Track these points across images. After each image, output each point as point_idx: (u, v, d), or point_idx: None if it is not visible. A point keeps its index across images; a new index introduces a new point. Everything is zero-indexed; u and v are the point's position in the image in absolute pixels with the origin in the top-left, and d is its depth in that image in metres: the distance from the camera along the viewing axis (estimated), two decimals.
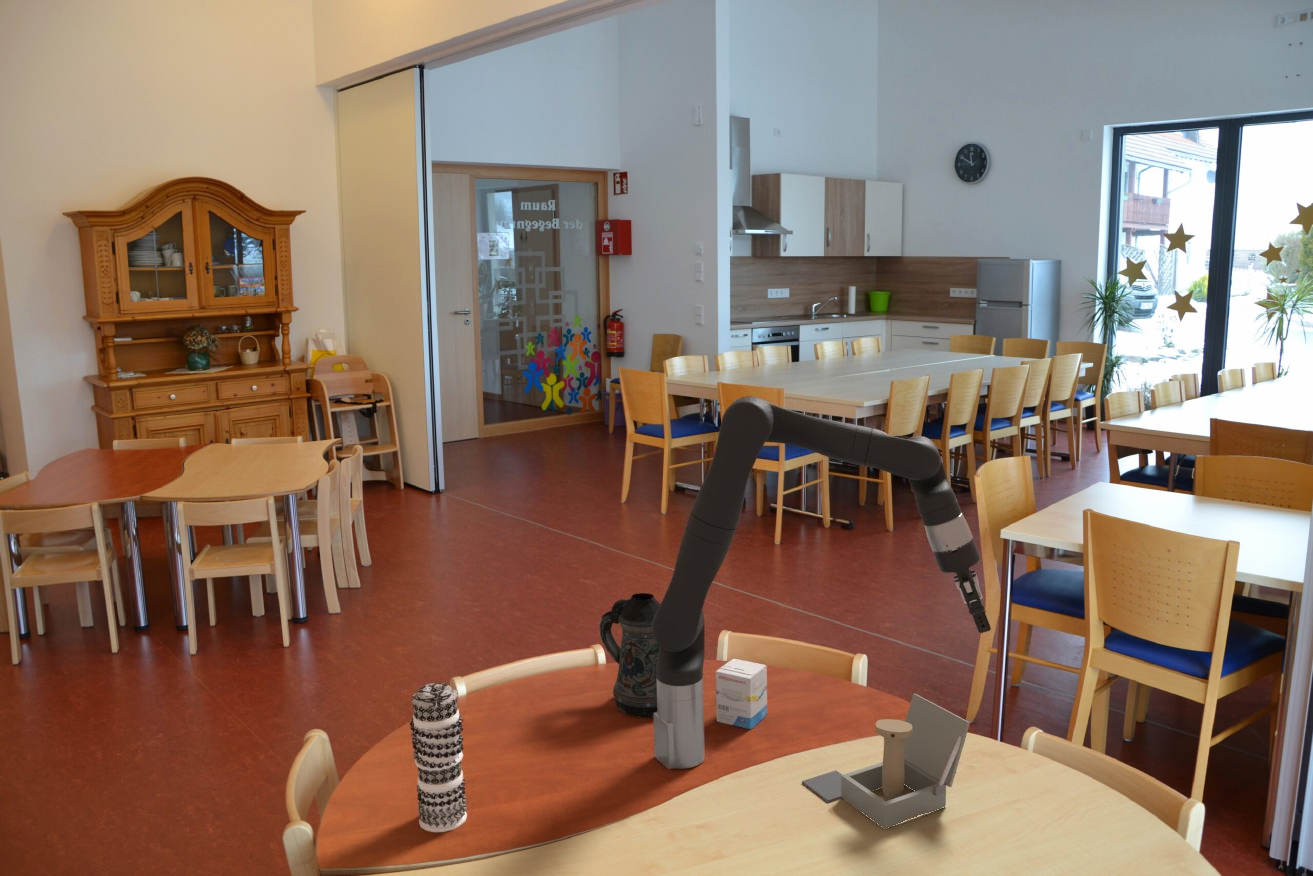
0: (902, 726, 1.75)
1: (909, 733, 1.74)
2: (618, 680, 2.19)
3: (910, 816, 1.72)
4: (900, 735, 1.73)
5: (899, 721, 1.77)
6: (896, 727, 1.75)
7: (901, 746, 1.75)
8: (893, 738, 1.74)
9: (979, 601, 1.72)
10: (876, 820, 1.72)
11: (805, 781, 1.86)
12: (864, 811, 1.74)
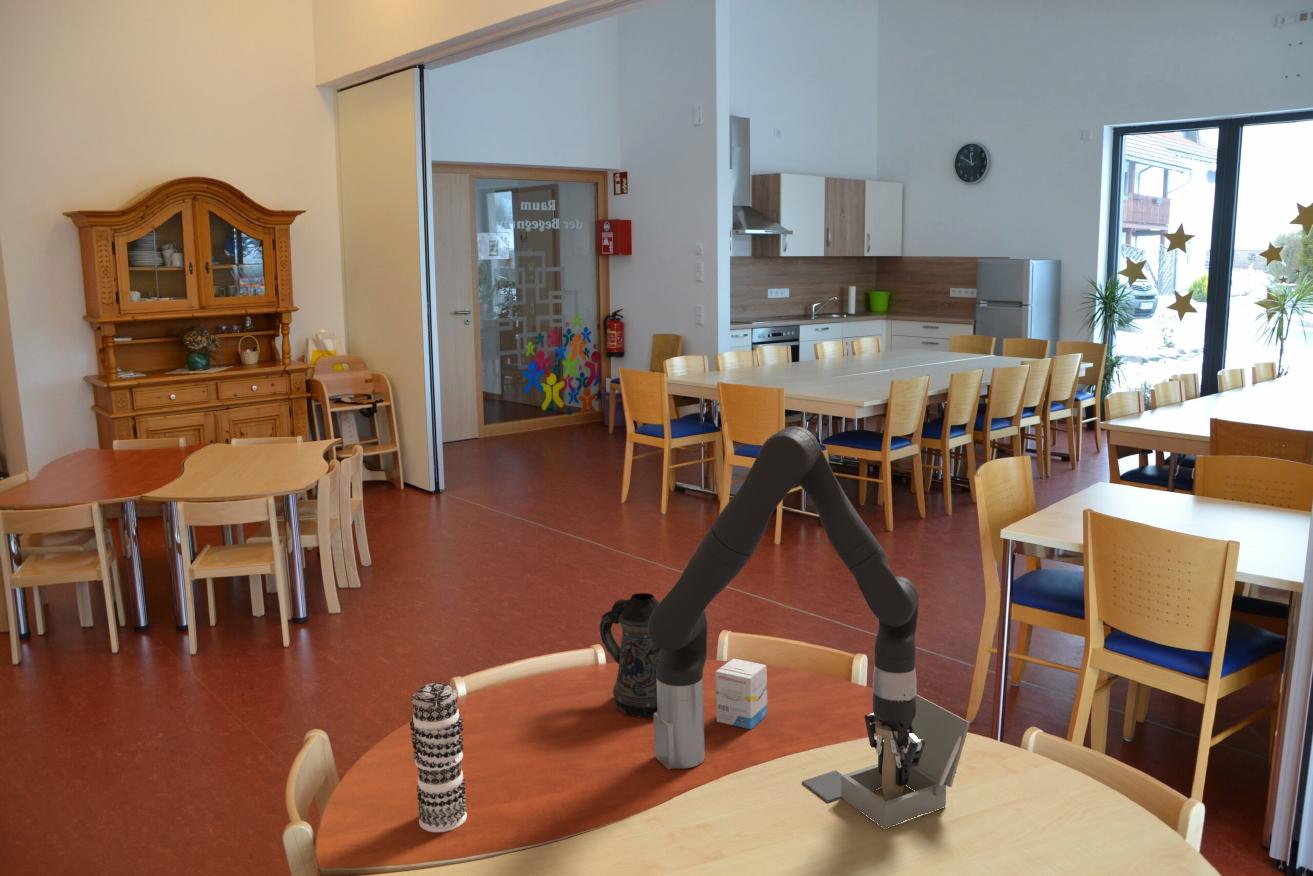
0: None
1: None
2: (618, 680, 2.19)
3: (910, 816, 1.72)
4: None
5: None
6: None
7: (901, 746, 1.75)
8: None
9: (919, 759, 1.72)
10: (876, 820, 1.72)
11: (805, 781, 1.86)
12: (864, 811, 1.74)
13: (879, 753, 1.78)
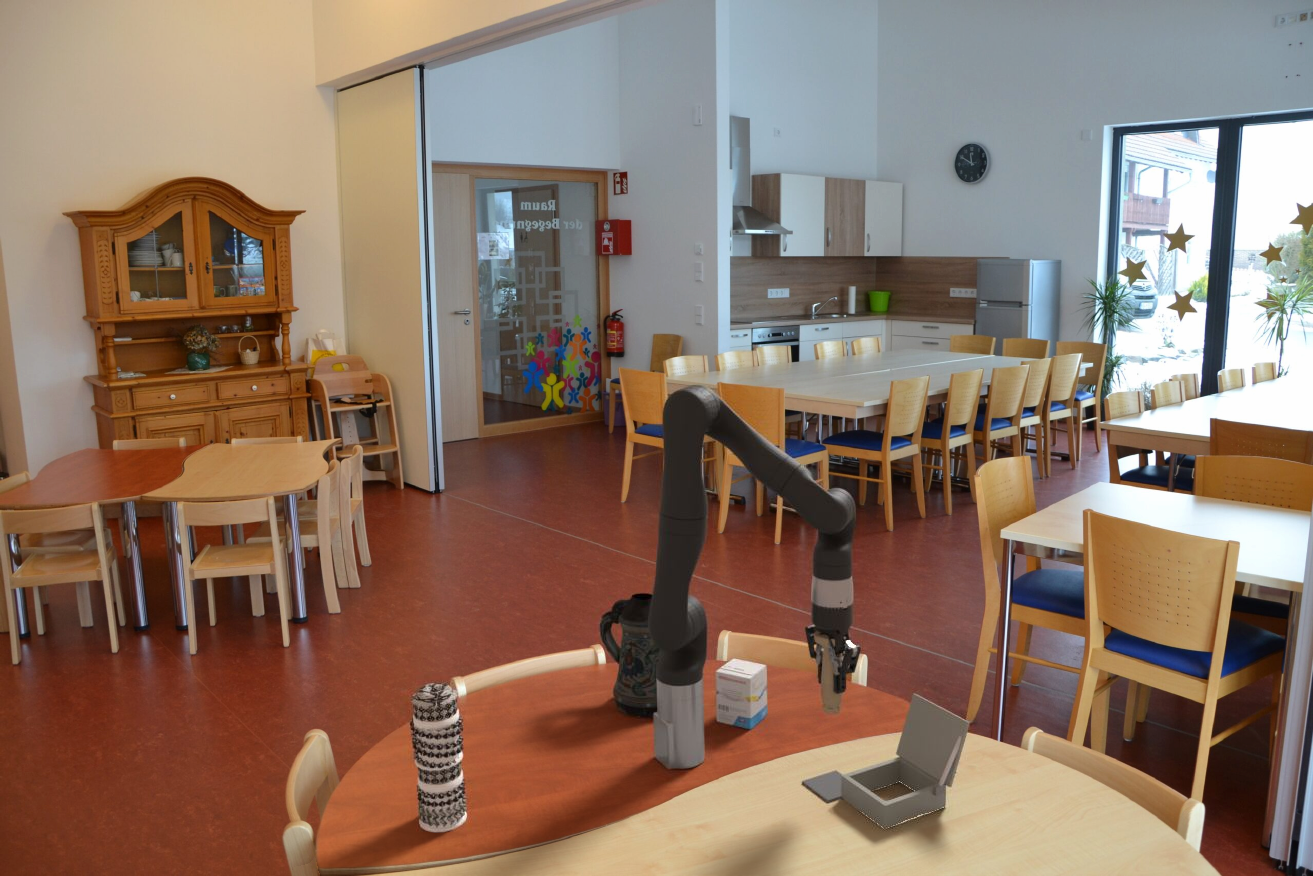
0: None
1: None
2: (618, 680, 2.19)
3: (910, 816, 1.72)
4: None
5: None
6: None
7: (839, 654, 1.79)
8: None
9: (855, 665, 1.76)
10: (876, 820, 1.72)
11: (805, 781, 1.86)
12: (864, 811, 1.74)
13: (818, 663, 1.82)
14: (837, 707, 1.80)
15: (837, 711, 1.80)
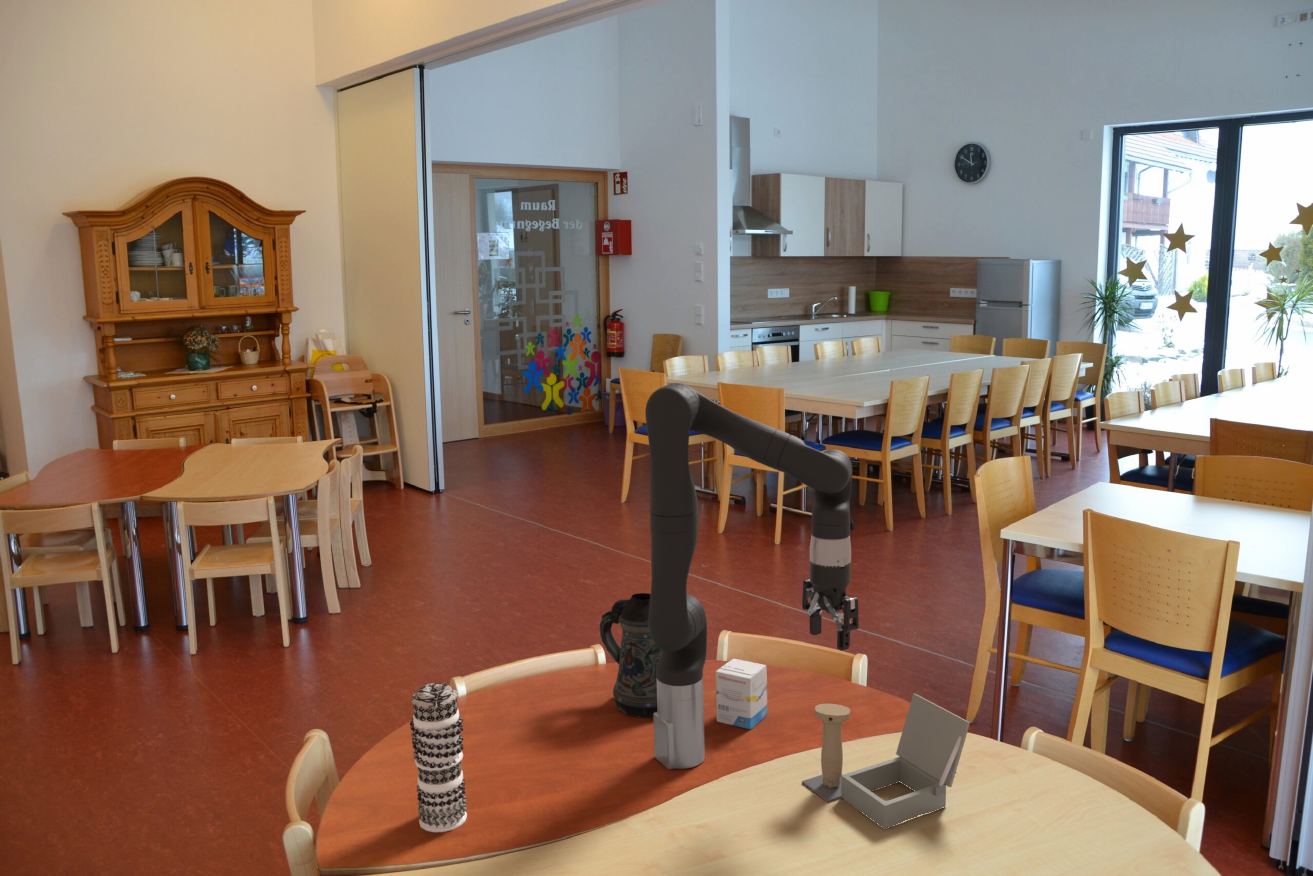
0: (841, 710, 1.81)
1: (846, 717, 1.80)
2: (618, 680, 2.19)
3: (910, 816, 1.72)
4: (837, 718, 1.79)
5: (838, 705, 1.83)
6: (834, 711, 1.81)
7: (839, 729, 1.81)
8: (831, 721, 1.80)
9: (857, 619, 1.77)
10: (876, 820, 1.72)
11: (805, 781, 1.86)
12: (864, 811, 1.74)
13: (810, 614, 1.87)
14: (837, 781, 1.83)
15: (837, 785, 1.83)
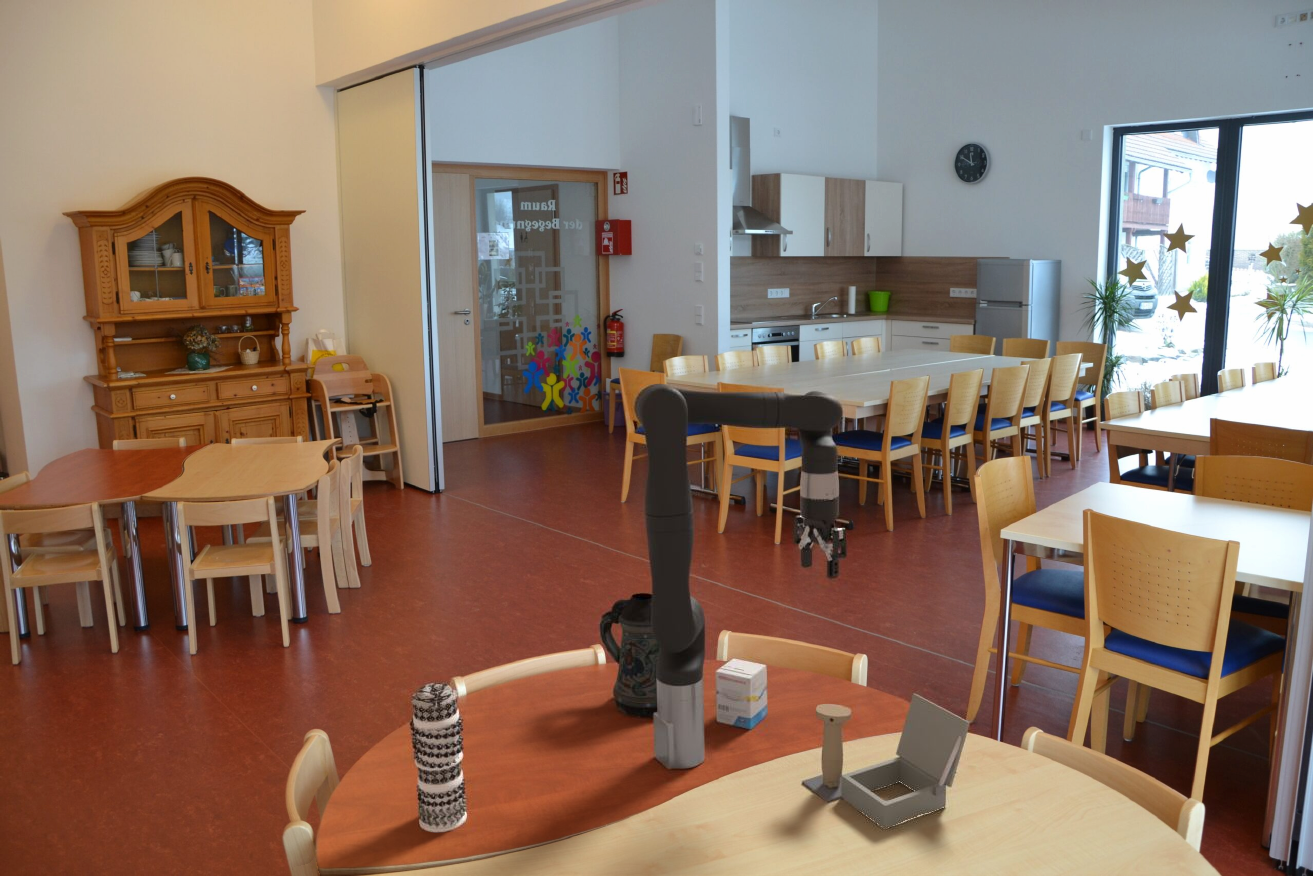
0: (842, 711, 1.81)
1: (847, 718, 1.79)
2: (618, 680, 2.19)
3: (910, 816, 1.72)
4: (838, 719, 1.79)
5: (839, 706, 1.83)
6: (835, 712, 1.81)
7: (840, 730, 1.81)
8: (832, 722, 1.79)
9: (845, 548, 1.90)
10: (876, 820, 1.72)
11: (805, 781, 1.86)
12: (864, 811, 1.74)
13: (801, 547, 1.99)
14: (837, 781, 1.83)
15: (837, 785, 1.83)
